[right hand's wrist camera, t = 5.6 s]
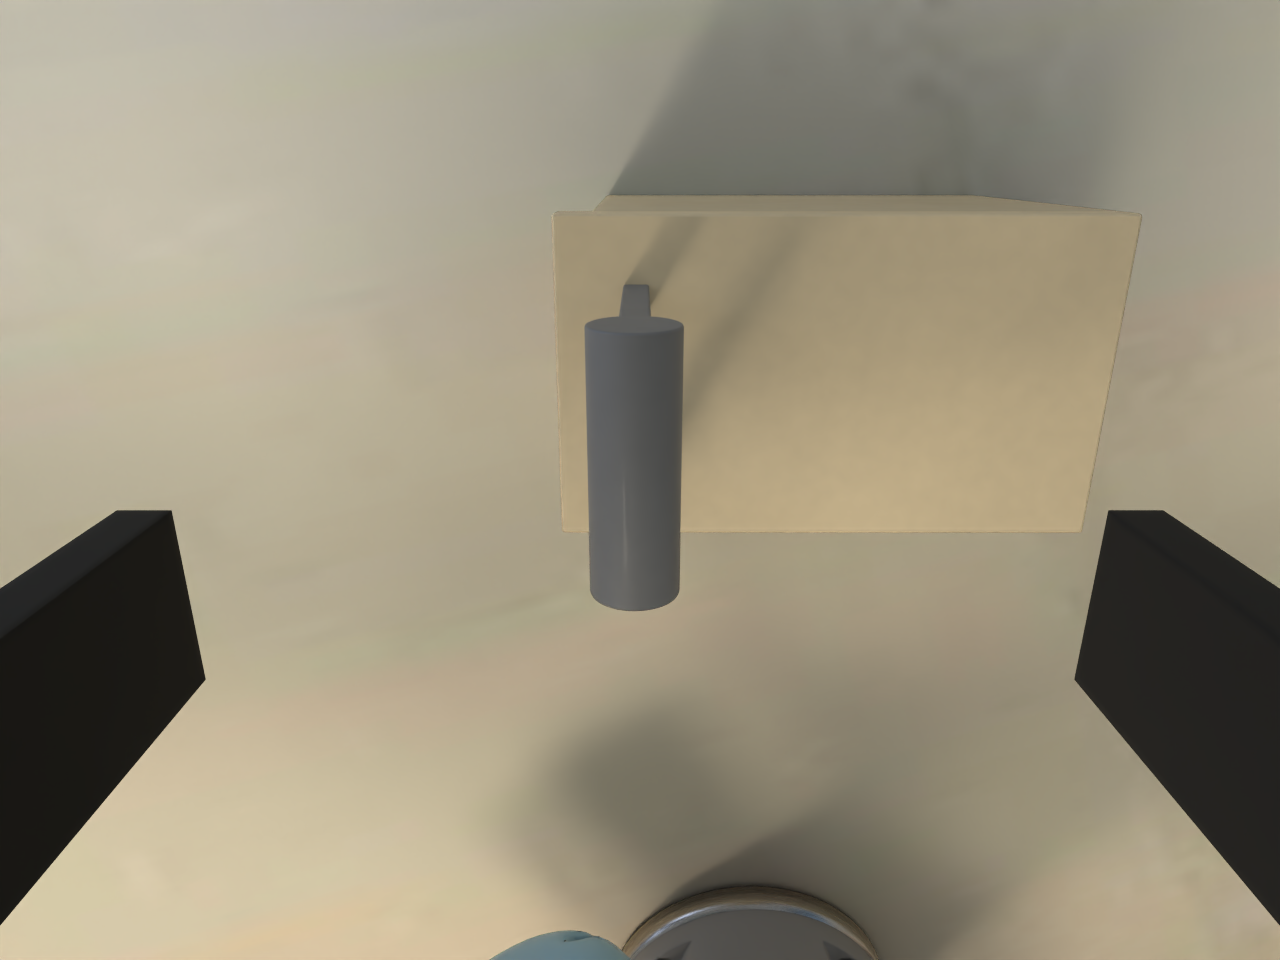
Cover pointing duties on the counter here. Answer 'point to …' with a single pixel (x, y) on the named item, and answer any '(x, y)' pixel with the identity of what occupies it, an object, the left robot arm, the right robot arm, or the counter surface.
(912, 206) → the chest
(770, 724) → the counter surface
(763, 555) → the counter surface
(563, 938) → the left robot arm
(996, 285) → the lid
